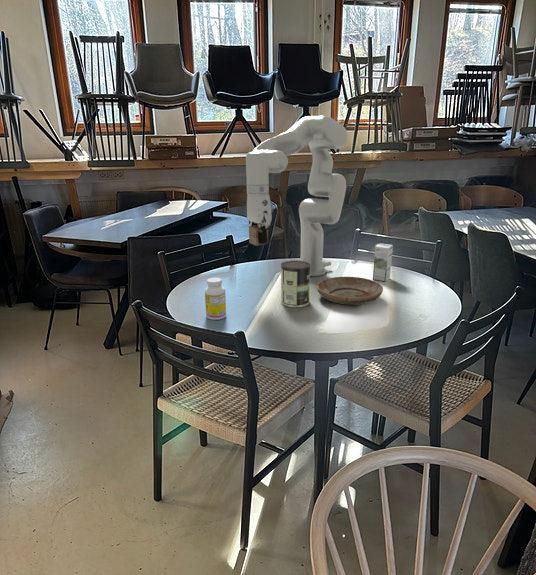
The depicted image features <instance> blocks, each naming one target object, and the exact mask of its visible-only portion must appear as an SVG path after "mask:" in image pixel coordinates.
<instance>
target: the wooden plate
mask: <svg viewBox="0 0 536 575" xmlns="http://www.w3.org/2000/svg"><path fill="white" fill-rule="evenodd" d="M316 291H317V293H318V294H319V295H320V297H323V298H324V299H326V300H328V301H330V302H333V303H337V304H339V305H340V304H341V305H348V306H349V305H351V306H352V305H353V306H356V305H365V304H369V303H372V302H374V301H375V300H377V299H379V298H380V297H381V295H382V294H383V291H384V287H383V285H382V284H381V283H379V282H377V281H376V280H373V279H369V278H366V277H358V276H335V277H330V278H325V279H322V280H321V281H319V282H318V283H317V285H316Z"/></svg>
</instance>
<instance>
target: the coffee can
mask: <svg viewBox="0 0 536 575" xmlns="http://www.w3.org/2000/svg"><path fill="white" fill-rule="evenodd" d="M310 266H311V265H310V263H308V262H304V261H300V260H289V261H284V262H282V263H281V264H280V269H281V270H280V271H281V272H280V274H281V275H280V276H281V279H280V281H281V282H280V288H281V290H280V292H281V293H280V295H281V297H280V298H281V299H280V303H281V304H282V306H285V307H289V308H304V307H307V306H308V305H309V304H310V286H311V285H310V284H311V282H310V281H311V276H310Z"/></svg>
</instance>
